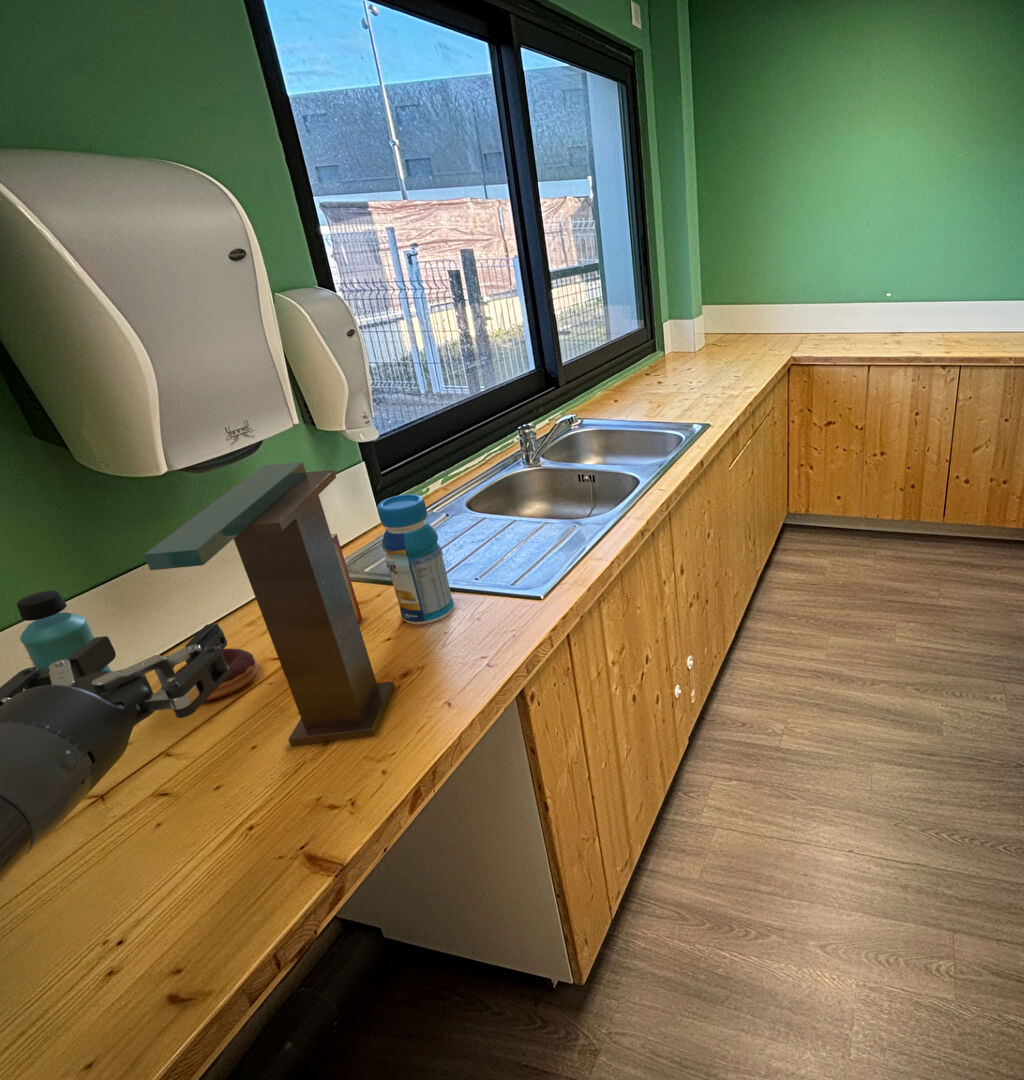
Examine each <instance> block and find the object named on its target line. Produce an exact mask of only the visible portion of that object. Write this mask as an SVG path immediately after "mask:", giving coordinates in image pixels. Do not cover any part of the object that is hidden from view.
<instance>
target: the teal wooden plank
mask: <svg viewBox="0 0 1024 1080" xmlns="http://www.w3.org/2000/svg"><path fill="white" fill-rule="evenodd" d="M306 472H307V471H306V468H305V465H304V462H302V461H299V462H287V463H275V464H273V463H272V464H264V465H262V466H260V467H259V468H258V469H257V470H255V471H254V472H253V473H251V474H250V475H248V476H246V477H247V478H246V477H245V478H246V479H245V478H244V479H245V480H243V479H242V480H243V481H242V480H241V481H242V482H241V481H240V482H241V483H239V482H238V483H239V484H238V483H237V484H238V485H237V484H235V485H236V486H235V485H234V486H235V487H234V486H233V487H234V488H233V487H231V488H232V489H231V488H230V489H231V490H230V489H229V490H230V491H229V490H227V491H228V492H227V491H226V492H227V493H226V492H225V493H226V494H225V493H223V494H224V495H223V494H222V495H223V496H222V495H221V496H222V497H221V496H219V497H220V498H219V497H218V498H219V499H218V498H217V499H218V500H216V499H215V500H216V501H215V500H214V501H215V502H214V501H213V502H214V503H212V502H211V503H212V504H211V503H210V504H211V505H210V504H209V505H210V506H208V505H207V506H208V507H207V506H206V507H207V508H206V507H205V508H206V509H204V508H203V509H204V510H203V509H202V510H203V511H202V510H201V511H202V512H200V511H199V512H200V513H199V512H198V513H199V514H198V513H196V514H197V515H196V514H195V515H196V516H195V515H194V516H195V517H194V516H192V517H193V518H192V517H191V518H192V519H191V518H190V519H191V520H189V519H188V520H189V521H188V520H187V521H188V522H187V521H186V522H187V523H185V522H184V523H185V524H184V523H183V524H184V525H183V524H182V525H183V526H181V525H180V526H181V527H180V526H179V527H180V528H179V527H178V528H179V529H177V528H176V529H177V530H176V529H175V530H176V531H175V530H174V531H175V532H173V531H172V533H170V534H169V535H168V536H166V537H165V538H164V539H162V540H161V541H160V542H158V543H157V544H156V545H155V546H153V547H152V548H150V549H149V550H147V551H146V552H145V553H144V554H143V557H144V559H145V562H146V564H147V566H148V568H149V570H150V571H157V570H168V569H169V570H170V569H179V568H189V567H201V566H204V565H205V564H207V563H208V562H209V561H210V560H211V559H212V558H213V557H215V556H216V555H217V554H219V552H220V551H222V550H223V549H224V548H225V547H226V546H227V545H228V544H229V543H231V542H232V541H234V538H235V537H236V536H237V535H238V534H239V533H241V532H242V531H243V530H244V529H245V528H246V527H247V526H249V525H250V524H251V523H252V522H253V521H254V520H255V519H256V518H258V517H259V516H260V515H261V514H262V513H263V512H264V511H266V510H267V509H268V508H269V507H270V506H271V505H272V504H274V503H275V502H276V501H277V500H278V499H279V498H280V497H281V496H283V495H284V494H285V493H286V492H287V491H288V490H289V489H291V488H292V487H293V486H294V485H295V484H296V483H297V482H299V481H300V480H301V479H302V478H303V477H304V476H305V475H306Z"/></svg>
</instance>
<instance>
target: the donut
mask: <svg viewBox="0 0 1024 1080" xmlns="http://www.w3.org/2000/svg"><path fill="white" fill-rule="evenodd" d="M222 654H223V656H224V659H225V661H226V664H227V666H228V667H229V670H230V672H231V673H230V675H229V676H228V677H227V678H226V679H225V680H224V681H223V682H222V683H221V684H220V685H219V686H218V687H217V688H216V690H215V691H214V692H213V693H212V694H211V695H210V696H209V697H208V698H207V699H206V700H205V701H204V702H208V701H212V700H216V699H219V698H222V697H225V696H228V695H230V694H232V693H235V692H236V691H238V690H241V689H242V688H244V687H245V686H246V685H248V684H250V683H251V682H252V681H253V680H254V679H255V678H256V677H257V676H258V674H259V671H260V666H259V663H258V662H257V661H256V659H255V657H254V655H253V653H251V652H249V651H247V650H244V649H242V648H241V649H240V648H224V649H223V650H222ZM187 666H188V665H187V663H185V664H184V665H183V666H182V667H180V668H179V669H178V670H177V671H176V672H175V675H176V676H177V675H178V674H179V673H180V672H181V671H182V670H183V669H185V668H186V667H187Z"/></svg>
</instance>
